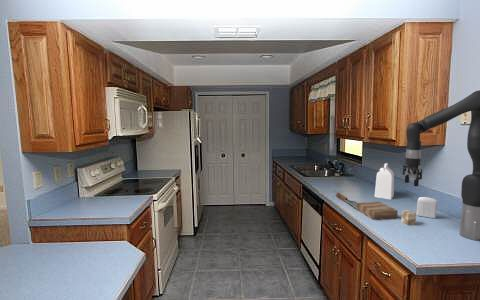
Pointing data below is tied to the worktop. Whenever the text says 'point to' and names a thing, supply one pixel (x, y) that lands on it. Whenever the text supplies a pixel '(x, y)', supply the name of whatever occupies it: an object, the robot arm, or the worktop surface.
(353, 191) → the worktop surface
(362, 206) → the walnut base
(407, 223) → the beech block
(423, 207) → the photo printer
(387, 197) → the milk
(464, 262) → the worktop surface
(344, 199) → the meat cleaver
